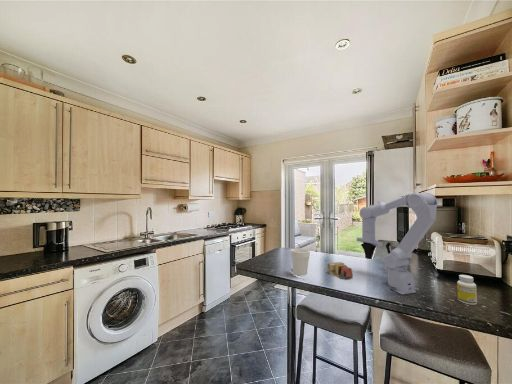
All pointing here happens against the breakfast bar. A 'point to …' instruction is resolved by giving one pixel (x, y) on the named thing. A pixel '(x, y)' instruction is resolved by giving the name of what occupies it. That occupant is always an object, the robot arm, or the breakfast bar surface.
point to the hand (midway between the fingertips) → (368, 258)
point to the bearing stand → (331, 271)
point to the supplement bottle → (466, 290)
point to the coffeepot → (394, 248)
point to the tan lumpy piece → (338, 268)
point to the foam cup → (300, 261)
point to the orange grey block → (346, 271)
